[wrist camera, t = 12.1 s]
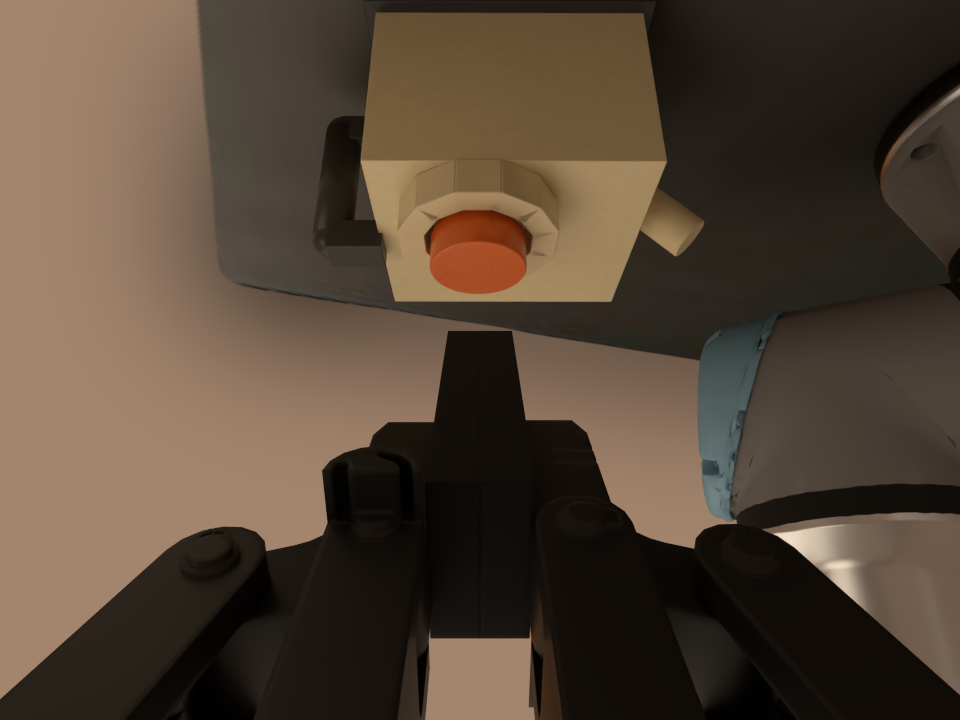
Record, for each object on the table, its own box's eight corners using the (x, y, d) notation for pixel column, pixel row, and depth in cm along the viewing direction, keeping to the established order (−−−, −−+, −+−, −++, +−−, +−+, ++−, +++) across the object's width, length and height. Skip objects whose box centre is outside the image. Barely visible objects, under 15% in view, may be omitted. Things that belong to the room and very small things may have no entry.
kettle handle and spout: (720, -12, 30) (763, 166, 25) (650, 175, 42) (670, 318, 37) (302, -14, 30) (270, 165, 25) (353, 174, 42) (337, 317, 37)
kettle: (642, -4, 30) (674, 193, 25) (597, 168, 41) (614, 328, 36) (376, -5, 30) (356, 192, 25) (403, 168, 41) (393, 328, 36)
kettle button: (529, 208, 27) (530, 241, 26) (522, 264, 31) (523, 295, 30) (427, 208, 27) (426, 241, 26) (434, 264, 31) (432, 294, 30)
